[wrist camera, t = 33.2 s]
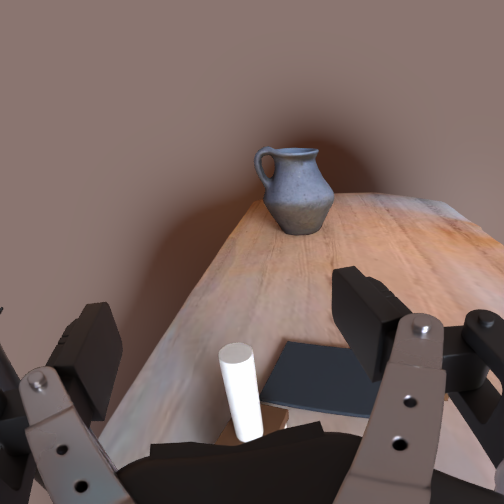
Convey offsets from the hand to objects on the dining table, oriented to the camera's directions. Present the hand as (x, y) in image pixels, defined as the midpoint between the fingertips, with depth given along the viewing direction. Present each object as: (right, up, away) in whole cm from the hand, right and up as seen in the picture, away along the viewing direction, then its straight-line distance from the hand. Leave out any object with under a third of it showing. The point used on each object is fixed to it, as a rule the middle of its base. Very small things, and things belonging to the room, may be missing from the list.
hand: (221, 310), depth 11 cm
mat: (+11, -14, +28) cm, 34 cm away
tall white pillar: (+1, -19, +19) cm, 27 cm away
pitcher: (+15, +8, +84) cm, 86 cm away
